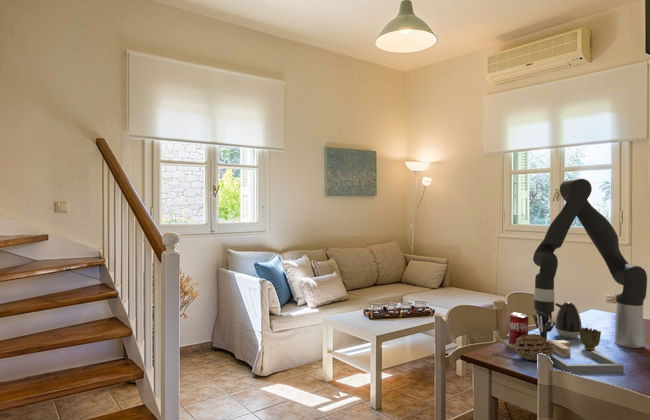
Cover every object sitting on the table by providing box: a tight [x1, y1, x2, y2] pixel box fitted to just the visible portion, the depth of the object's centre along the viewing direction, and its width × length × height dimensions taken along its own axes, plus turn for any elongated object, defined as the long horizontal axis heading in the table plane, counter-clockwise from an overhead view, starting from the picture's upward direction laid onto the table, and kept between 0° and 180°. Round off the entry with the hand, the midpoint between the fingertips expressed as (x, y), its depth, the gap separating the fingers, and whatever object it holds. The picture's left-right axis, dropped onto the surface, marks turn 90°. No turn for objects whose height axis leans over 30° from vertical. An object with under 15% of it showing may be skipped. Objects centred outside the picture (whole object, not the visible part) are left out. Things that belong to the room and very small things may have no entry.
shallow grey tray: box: [550, 350, 625, 374], centre depth 154 cm, size 20×14×2 cm
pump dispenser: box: [554, 301, 583, 340], centre depth 187 cm, size 10×10×15 cm
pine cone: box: [495, 333, 555, 362], centre depth 160 cm, size 22×10×10 cm, turn 45°
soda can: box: [508, 312, 529, 345], centre depth 177 cm, size 7×7×12 cm
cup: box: [579, 326, 602, 352], centre depth 170 cm, size 8×7×8 cm
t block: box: [546, 339, 571, 358], centre depth 168 cm, size 12×10×3 cm
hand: (543, 340), depth 178 cm, fingers closed
